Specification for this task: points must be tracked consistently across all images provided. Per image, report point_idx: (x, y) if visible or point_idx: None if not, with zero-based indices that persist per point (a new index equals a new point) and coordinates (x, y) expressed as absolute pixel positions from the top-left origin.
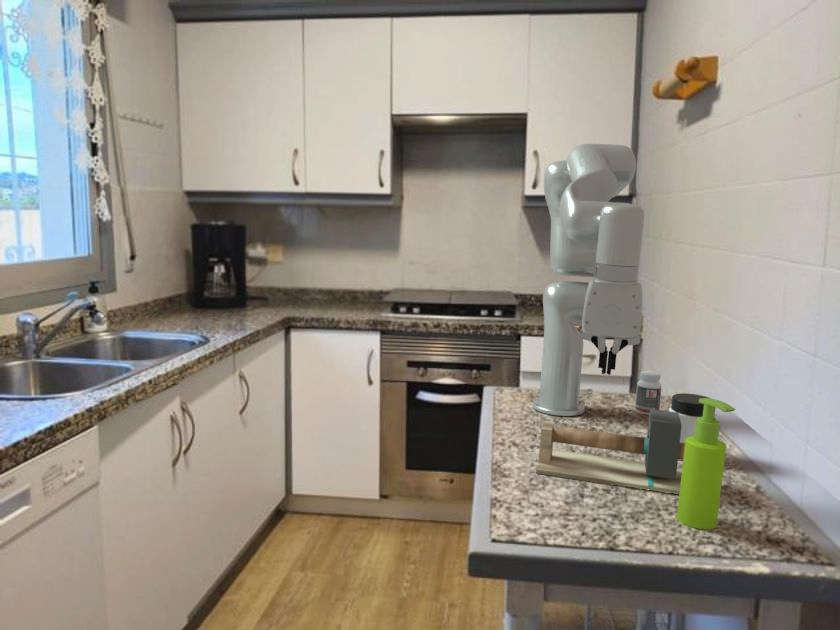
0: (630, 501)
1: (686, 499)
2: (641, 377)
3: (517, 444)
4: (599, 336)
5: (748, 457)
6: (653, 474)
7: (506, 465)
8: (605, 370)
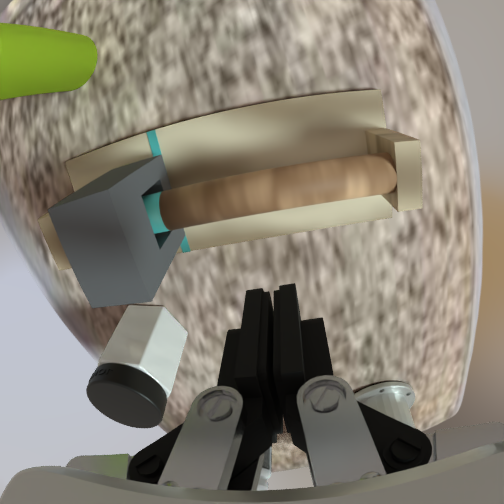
0: (174, 57)
1: (62, 31)
2: (265, 481)
3: (436, 228)
4: (379, 476)
5: (94, 354)
6: (147, 158)
7: (434, 107)
8: (276, 297)
